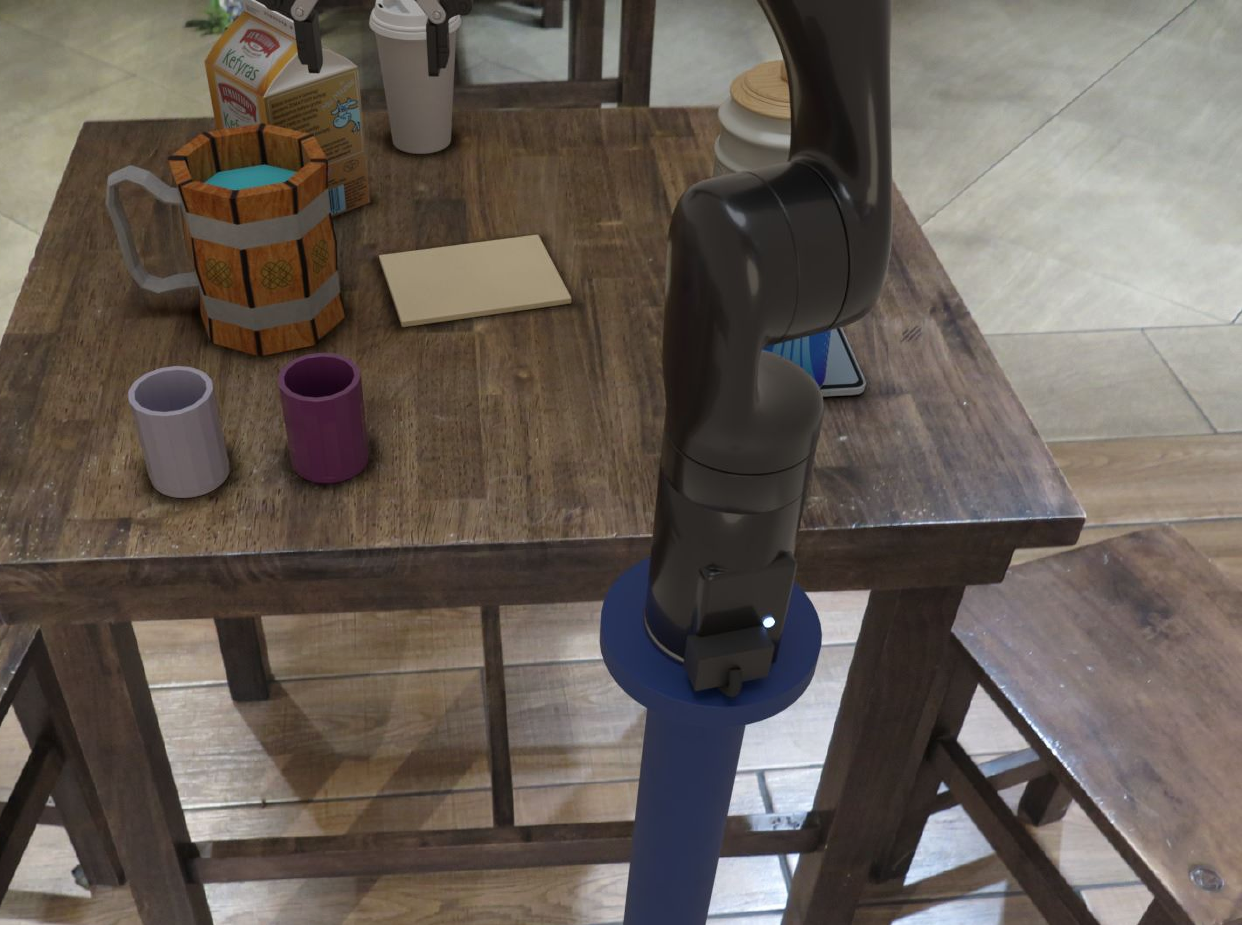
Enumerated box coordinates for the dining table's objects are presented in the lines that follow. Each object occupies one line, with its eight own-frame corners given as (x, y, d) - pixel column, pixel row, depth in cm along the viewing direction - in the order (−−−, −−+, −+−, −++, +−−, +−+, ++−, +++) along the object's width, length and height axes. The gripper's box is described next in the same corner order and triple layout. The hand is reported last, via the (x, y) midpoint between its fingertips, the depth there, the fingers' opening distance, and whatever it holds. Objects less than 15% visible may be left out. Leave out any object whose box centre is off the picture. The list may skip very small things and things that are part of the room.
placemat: (571, 303, 117) (571, 298, 117) (401, 327, 114) (401, 322, 114) (538, 239, 125) (538, 234, 125) (379, 260, 123) (378, 255, 122)
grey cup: (233, 491, 98) (215, 408, 93) (152, 504, 97) (129, 421, 92) (226, 442, 103) (209, 360, 97) (148, 454, 102) (126, 372, 96)
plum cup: (375, 476, 100) (366, 393, 94) (296, 489, 99) (283, 406, 93) (362, 429, 104) (353, 347, 98) (286, 441, 103) (273, 359, 97)
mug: (355, 276, 121) (339, 124, 110) (335, 358, 111) (316, 200, 100) (151, 272, 121) (116, 120, 111) (114, 353, 112) (71, 196, 101)
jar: (825, 199, 131) (858, 26, 119) (844, 265, 122) (881, 85, 110) (700, 197, 131) (719, 24, 119) (709, 263, 122) (731, 83, 110)
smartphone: (783, 392, 106) (746, 292, 116) (781, 401, 107) (745, 301, 117) (869, 388, 107) (825, 288, 117) (867, 397, 107) (823, 297, 118)
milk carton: (228, 197, 132) (195, 9, 118) (312, 166, 136) (290, -18, 123) (283, 236, 126) (255, 43, 112) (370, 202, 131) (352, 14, 117)
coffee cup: (383, 121, 144) (373, -17, 134) (467, 122, 144) (463, -16, 133) (374, 160, 137) (362, 18, 127) (462, 161, 137) (457, 19, 127)
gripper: (228, -173, 76) (266, 91, 88) (463, -170, 76) (470, 96, 87) (253, -206, 82) (286, 47, 93) (473, -203, 81) (479, 52, 92)
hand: (375, 71), depth 90 cm, fingers open, 8 cm apart
